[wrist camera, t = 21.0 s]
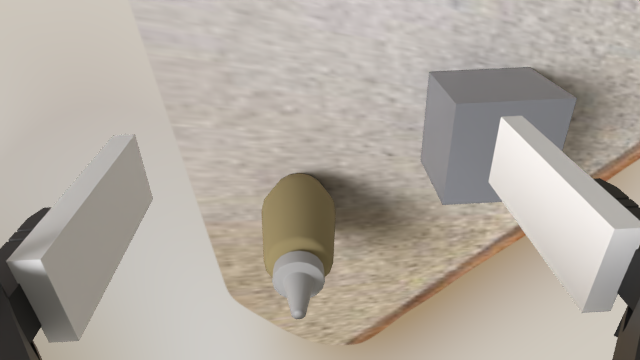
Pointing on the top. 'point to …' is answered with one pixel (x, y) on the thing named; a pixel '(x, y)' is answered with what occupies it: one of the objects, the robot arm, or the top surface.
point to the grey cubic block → (483, 124)
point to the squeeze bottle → (298, 239)
